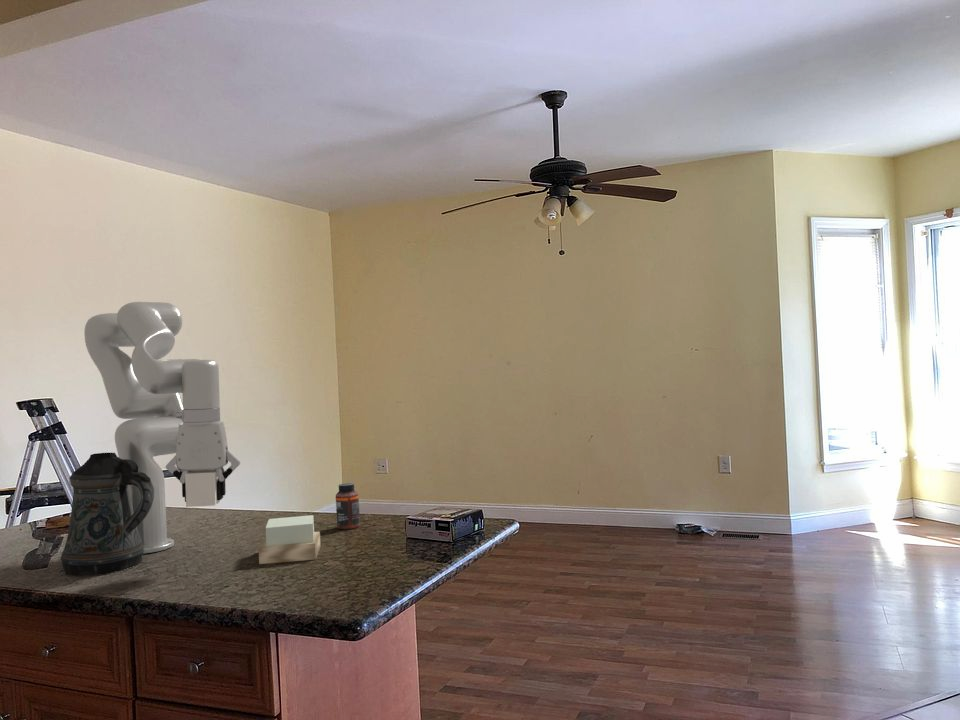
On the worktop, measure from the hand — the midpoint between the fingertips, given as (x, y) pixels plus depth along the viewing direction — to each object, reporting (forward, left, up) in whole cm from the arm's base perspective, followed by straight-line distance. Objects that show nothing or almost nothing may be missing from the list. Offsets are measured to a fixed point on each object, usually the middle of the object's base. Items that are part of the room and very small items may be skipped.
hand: (204, 498), depth 160 cm
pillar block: (0, 0, -1) cm, 1 cm away
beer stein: (-23, +8, -15) cm, 28 cm away
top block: (+17, +5, -11) cm, 21 cm away
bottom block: (+17, +4, -15) cm, 23 cm away
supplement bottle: (+28, +30, -15) cm, 44 cm away
